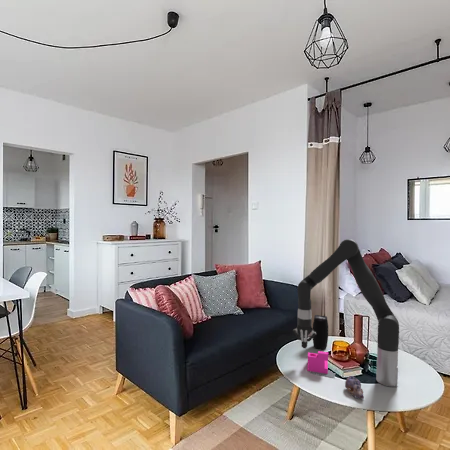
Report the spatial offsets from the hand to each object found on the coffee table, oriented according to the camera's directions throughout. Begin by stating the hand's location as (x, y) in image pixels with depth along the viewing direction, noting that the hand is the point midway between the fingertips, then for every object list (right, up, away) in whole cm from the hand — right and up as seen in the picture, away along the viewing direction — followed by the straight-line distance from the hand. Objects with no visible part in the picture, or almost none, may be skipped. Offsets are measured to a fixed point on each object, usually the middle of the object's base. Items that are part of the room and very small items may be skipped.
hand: (304, 347), depth 176 cm
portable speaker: (+16, -9, +24) cm, 30 cm away
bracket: (+7, -10, -2) cm, 12 cm away
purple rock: (+17, -11, -27) cm, 34 cm away
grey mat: (+9, -10, -5) cm, 14 cm away
